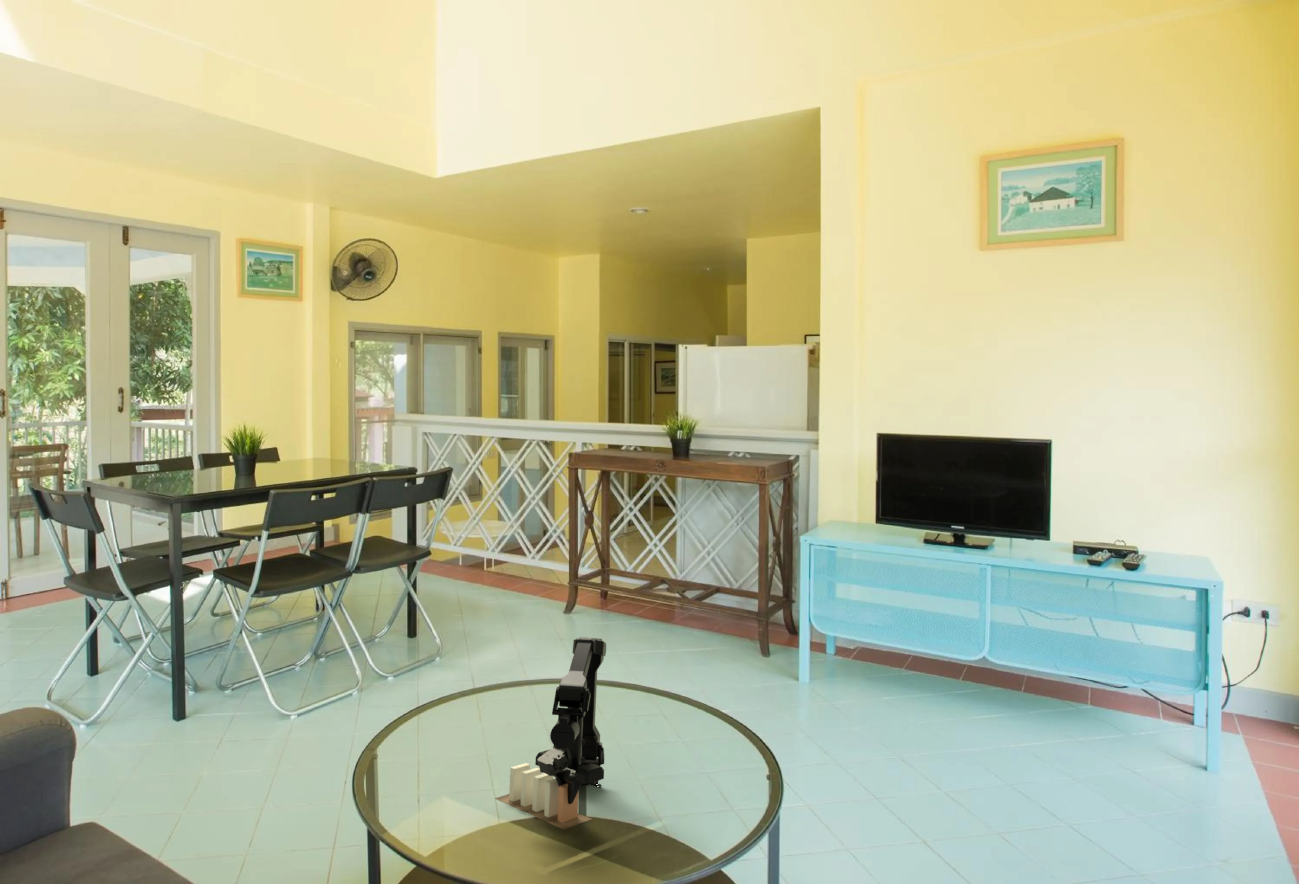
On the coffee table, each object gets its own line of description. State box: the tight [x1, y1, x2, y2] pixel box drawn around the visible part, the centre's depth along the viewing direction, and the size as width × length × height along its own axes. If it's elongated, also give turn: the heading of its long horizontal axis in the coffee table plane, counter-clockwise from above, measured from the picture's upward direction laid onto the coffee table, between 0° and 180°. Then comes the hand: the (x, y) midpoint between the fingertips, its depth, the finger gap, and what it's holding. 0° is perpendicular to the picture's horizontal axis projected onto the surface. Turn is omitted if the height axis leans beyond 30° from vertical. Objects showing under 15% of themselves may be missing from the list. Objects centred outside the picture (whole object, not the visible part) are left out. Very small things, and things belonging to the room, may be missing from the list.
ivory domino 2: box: [521, 767, 542, 807], centre depth 202 cm, size 2×5×8 cm, turn 138°
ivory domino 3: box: [532, 773, 554, 812], centre depth 199 cm, size 2×5×8 cm, turn 138°
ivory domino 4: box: [544, 777, 559, 817], centre depth 196 cm, size 2×5×8 cm, turn 138°
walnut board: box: [494, 793, 592, 830], centre depth 199 cm, size 26×9×1 cm, turn 48°
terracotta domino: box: [558, 784, 580, 823], centre depth 194 cm, size 2×5×8 cm, turn 138°
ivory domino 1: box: [508, 762, 531, 801], centre depth 205 cm, size 2×5×8 cm, turn 138°
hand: (567, 802), depth 193 cm, fingers closed on terracotta domino, 2 cm apart
